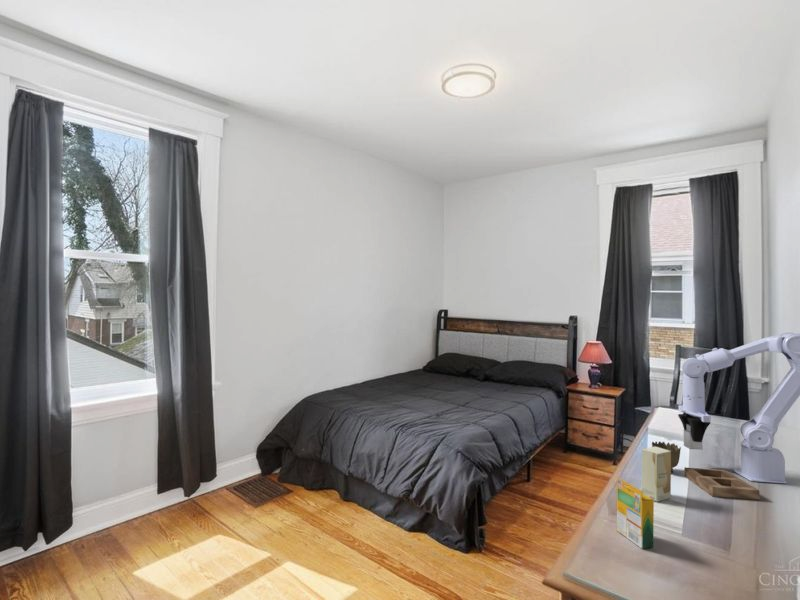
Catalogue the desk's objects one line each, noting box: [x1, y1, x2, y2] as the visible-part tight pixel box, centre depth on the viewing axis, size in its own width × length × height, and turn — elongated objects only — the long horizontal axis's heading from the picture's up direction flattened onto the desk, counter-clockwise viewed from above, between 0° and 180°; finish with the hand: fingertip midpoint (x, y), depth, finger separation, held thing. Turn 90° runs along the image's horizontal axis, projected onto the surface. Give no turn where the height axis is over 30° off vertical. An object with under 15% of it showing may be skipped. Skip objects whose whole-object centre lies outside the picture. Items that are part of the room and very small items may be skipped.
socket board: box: [683, 467, 760, 501], centre depth 115 cm, size 11×14×2 cm
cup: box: [651, 441, 682, 473], centre depth 127 cm, size 8×7×8 cm
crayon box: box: [616, 477, 655, 550], centre depth 88 cm, size 7×3×12 cm, turn 12°
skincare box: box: [640, 446, 672, 502], centre depth 109 cm, size 6×4×12 cm
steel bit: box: [683, 424, 704, 451], centre depth 131 cm, size 4×4×7 cm
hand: (693, 439), depth 131 cm, fingers closed on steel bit, 4 cm apart
